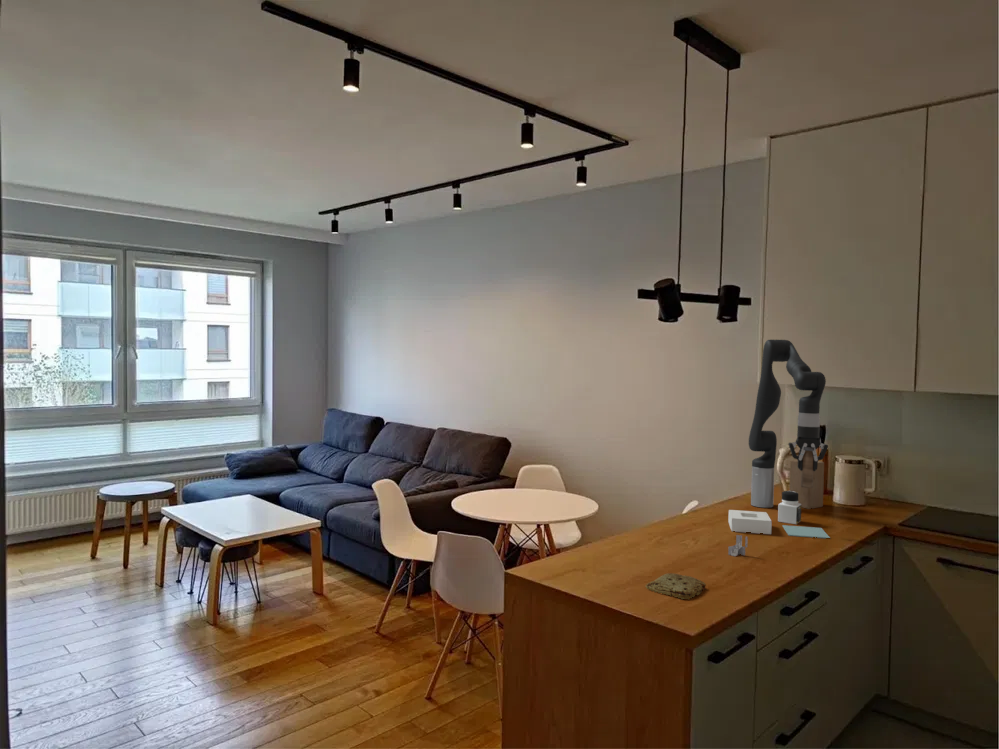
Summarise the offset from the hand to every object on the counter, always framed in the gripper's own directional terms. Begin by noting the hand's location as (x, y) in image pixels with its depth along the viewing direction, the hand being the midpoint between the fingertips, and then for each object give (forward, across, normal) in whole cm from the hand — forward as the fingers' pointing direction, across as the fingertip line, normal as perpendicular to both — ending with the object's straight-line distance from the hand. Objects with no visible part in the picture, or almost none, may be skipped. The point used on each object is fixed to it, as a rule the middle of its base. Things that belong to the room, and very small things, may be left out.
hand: (807, 470), depth 251 cm
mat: (+24, 0, 0) cm, 24 cm away
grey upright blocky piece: (+24, +25, +42) cm, 55 cm away
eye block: (+24, +20, 0) cm, 31 cm away
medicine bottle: (+24, +3, -16) cm, 29 cm away
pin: (+6, 0, 0) cm, 6 cm away
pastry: (+24, +48, +76) cm, 93 cm away
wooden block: (+24, -9, -48) cm, 54 cm away
